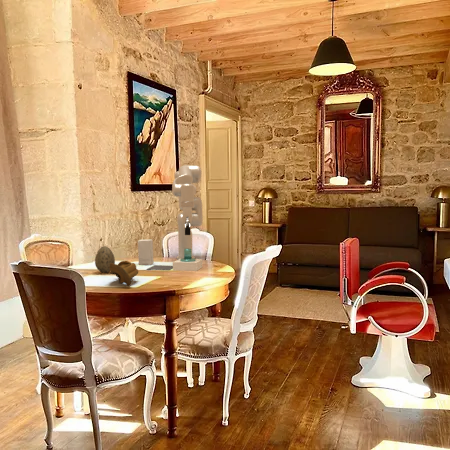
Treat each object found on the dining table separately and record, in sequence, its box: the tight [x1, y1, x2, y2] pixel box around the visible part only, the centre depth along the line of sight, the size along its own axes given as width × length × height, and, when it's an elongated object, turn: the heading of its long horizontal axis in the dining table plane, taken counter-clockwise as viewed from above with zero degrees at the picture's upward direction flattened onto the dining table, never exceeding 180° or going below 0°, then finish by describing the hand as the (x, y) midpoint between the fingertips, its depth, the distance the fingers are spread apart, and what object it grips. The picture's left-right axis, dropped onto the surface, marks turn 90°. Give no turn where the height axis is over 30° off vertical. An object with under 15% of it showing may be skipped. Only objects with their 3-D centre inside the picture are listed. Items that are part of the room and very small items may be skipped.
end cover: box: [180, 248, 197, 262], centre depth 253 cm, size 9×9×12 cm
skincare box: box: [137, 238, 154, 266], centre depth 271 cm, size 8×7×16 cm
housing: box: [172, 258, 203, 272], centre depth 253 cm, size 14×14×5 cm
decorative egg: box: [94, 245, 116, 274], centre depth 242 cm, size 11×11×15 cm
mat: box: [146, 264, 173, 271], centre depth 256 cm, size 14×14×1 cm
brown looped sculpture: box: [110, 260, 139, 287], centre depth 214 cm, size 18×13×22 cm
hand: (187, 234), depth 252 cm, fingers open, 9 cm apart
